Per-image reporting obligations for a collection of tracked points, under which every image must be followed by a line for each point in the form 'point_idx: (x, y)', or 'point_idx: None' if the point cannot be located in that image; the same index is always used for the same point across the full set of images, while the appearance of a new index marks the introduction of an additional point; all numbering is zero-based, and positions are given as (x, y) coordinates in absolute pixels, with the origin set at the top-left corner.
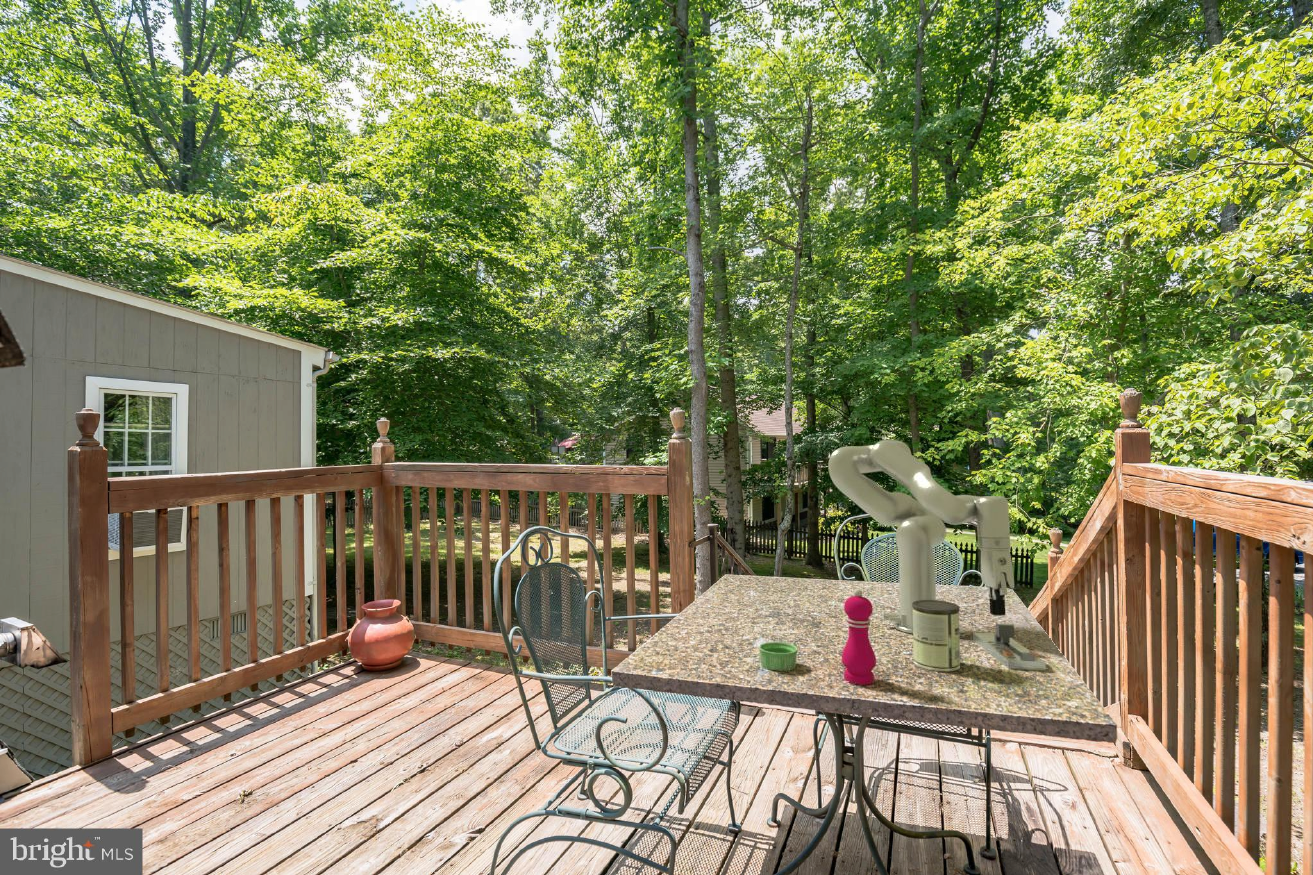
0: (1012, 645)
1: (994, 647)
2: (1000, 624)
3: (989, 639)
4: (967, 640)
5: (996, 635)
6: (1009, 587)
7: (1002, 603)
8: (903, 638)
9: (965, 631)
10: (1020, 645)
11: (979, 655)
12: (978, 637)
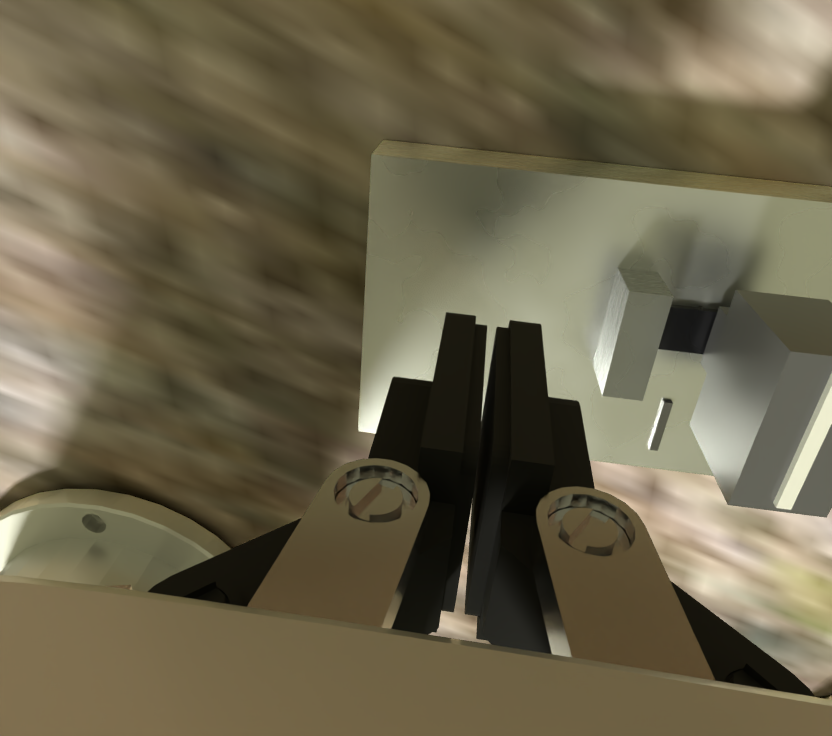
0: (798, 296)
1: None
2: (799, 487)
3: (575, 398)
4: None
5: (643, 391)
6: (827, 731)
7: (589, 482)
8: None
9: (107, 338)
10: (818, 216)
11: (752, 517)
12: None
